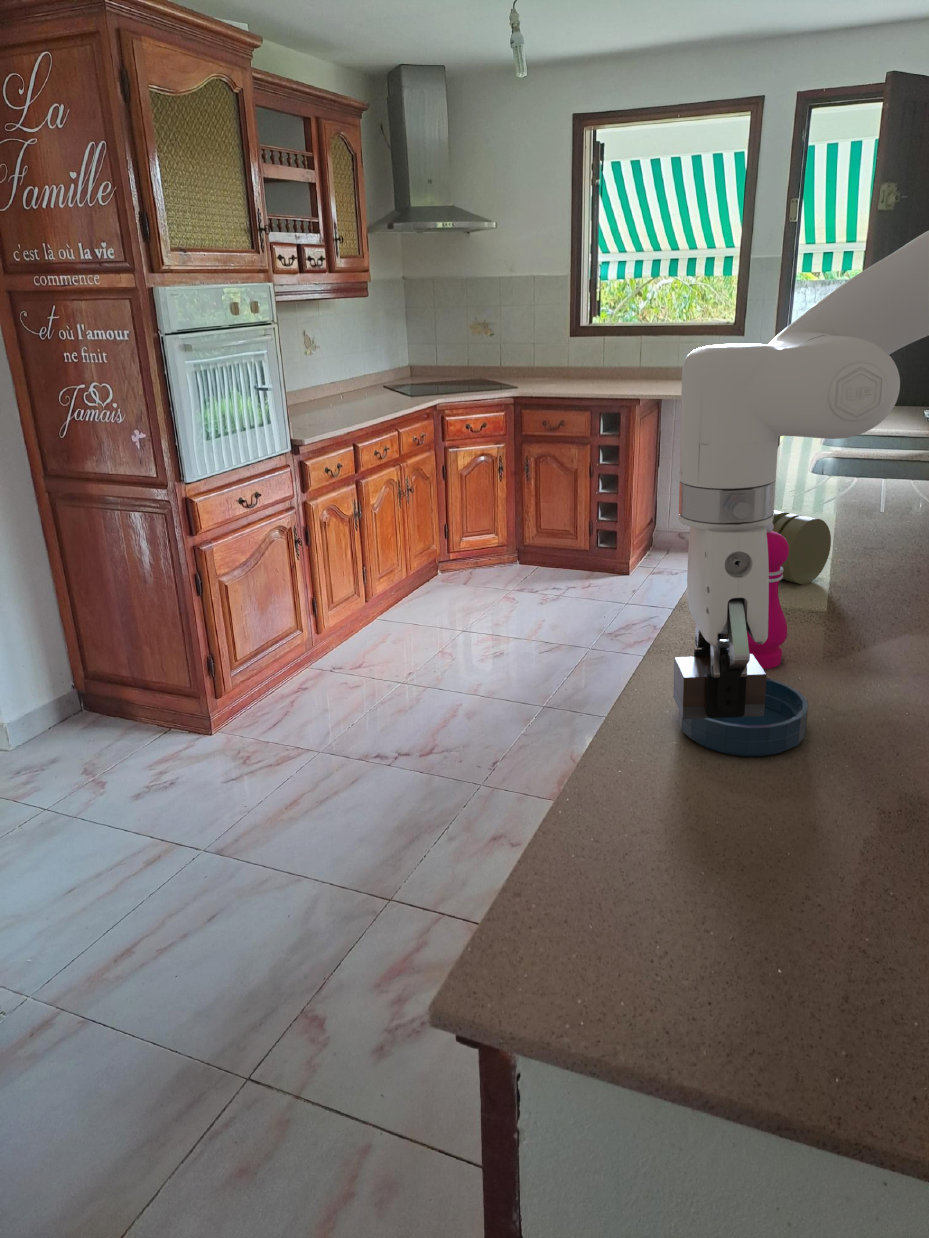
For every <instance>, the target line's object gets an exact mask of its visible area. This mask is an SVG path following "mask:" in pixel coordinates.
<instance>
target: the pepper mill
mask: <svg viewBox="0 0 929 1238" xmlns="http://www.w3.org/2000/svg"><path fill="white" fill-rule="evenodd" d="M765 527H766V533H767V544H768V563H769V606H768V638H767V640H766V641H765V642H764V643H763V644H758V643H757V642H754V640H753V639H752V637H751V636H750V635H749V633H748V632H747V637H748V646H749V654H753V655H754V657H755V658H756V660H757V661H758V663H759V664H760V666H761V667H762V668H763V670H770V669H774V668H777V667H778V666H779V665H781V663H782V657H783V656H782V655H783V649H782V647H780V646H781V645H783V643H785V642H786V640H787V637H788V624H787V619H786V617H785V614H784V612H783V608H782V605H781V602H780V597H779V585H780V581H781V580H783V579H782V578H783V575H782V572H783V568H782V567H781V565H782V564H783V563H784V562H785V561H786V560H787V558H788V555H789V546H788V543H787V541H786V539H785V538H784V537H783V536H782V535H780V534H779V533H776V532H773V531H772V530H773V528H774V525H773V523H770V524H768V525H766V526H765Z"/></svg>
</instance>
